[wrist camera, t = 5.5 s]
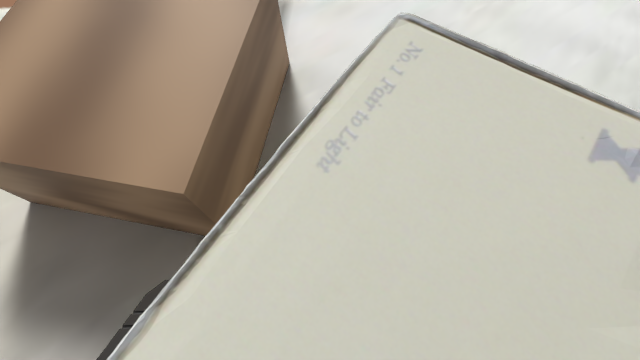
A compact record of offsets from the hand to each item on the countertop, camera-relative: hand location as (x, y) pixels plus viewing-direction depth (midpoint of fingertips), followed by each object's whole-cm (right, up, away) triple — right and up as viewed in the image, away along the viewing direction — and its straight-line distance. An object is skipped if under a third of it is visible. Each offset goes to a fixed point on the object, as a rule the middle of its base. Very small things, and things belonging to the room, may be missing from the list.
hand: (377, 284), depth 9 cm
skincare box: (0, -3, +6) cm, 7 cm away
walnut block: (-10, +5, +11) cm, 16 cm away
